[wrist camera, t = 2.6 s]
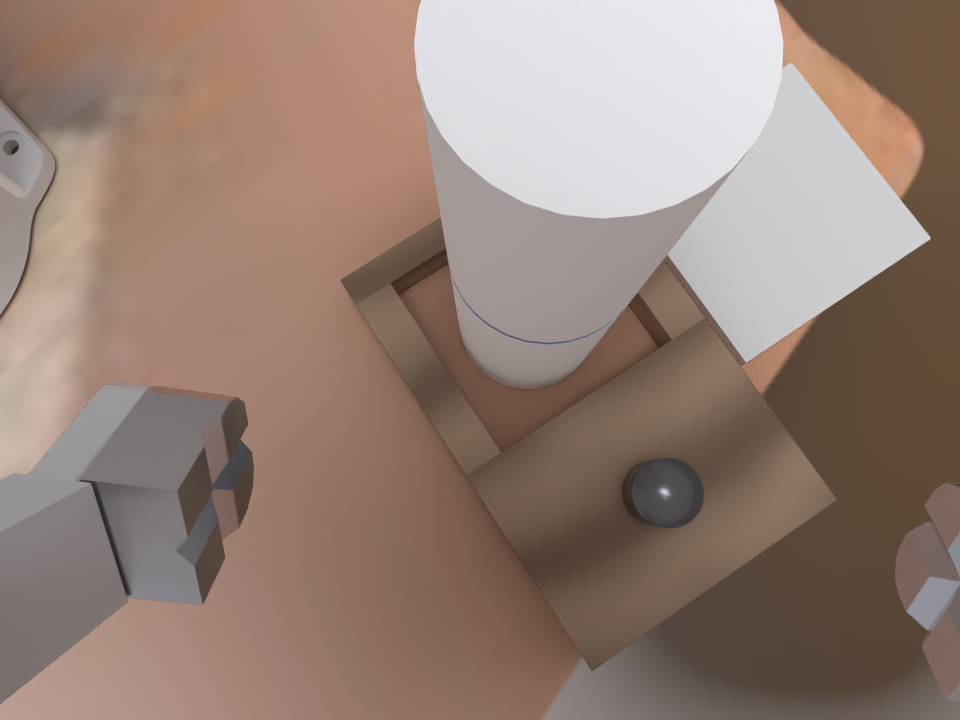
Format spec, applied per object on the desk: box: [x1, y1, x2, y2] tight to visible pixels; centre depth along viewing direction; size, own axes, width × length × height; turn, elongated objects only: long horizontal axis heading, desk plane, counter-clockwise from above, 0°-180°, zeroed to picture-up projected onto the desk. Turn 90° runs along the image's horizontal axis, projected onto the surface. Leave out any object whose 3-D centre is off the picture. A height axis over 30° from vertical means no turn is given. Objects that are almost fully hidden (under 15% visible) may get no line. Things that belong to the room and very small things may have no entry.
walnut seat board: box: [341, 218, 837, 671], centre depth 36 cm, size 22×14×6 cm, turn 33°
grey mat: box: [664, 63, 931, 365], centre depth 39 cm, size 12×12×1 cm
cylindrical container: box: [414, 0, 783, 390], centre depth 27 cm, size 7×7×25 cm
